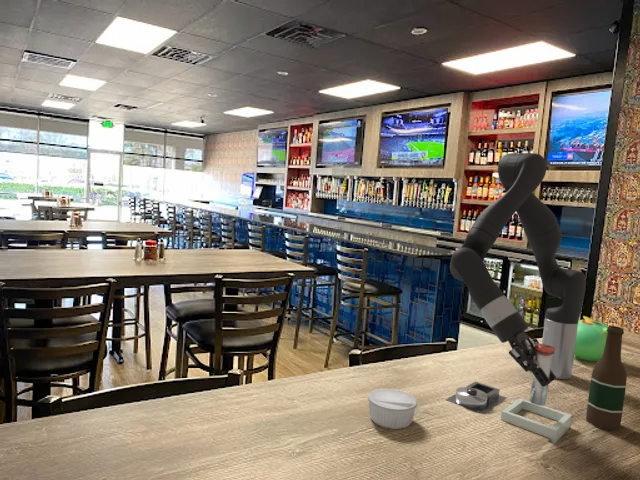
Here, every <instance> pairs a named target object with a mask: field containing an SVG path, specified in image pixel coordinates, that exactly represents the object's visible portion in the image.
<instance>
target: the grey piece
mask: <svg viewBox="0 0 640 480" xmlns="http://www.w3.org/2000/svg"><path fill="white" fill-rule="evenodd" d="M500 391H501V390H500V388H496V387H494V386H491V385H488V384H484V383H481V382H478V381H474V382H472V383H471V384H469V385H467V386H465V387H464V386H462V387H458V388H456V390H455V394H453V395H451V396H450V397H448V398H446V399H445V401H446V402H449V403H452V404H454V405H458V406H460V407H462V408H465V409H468V410H469V411H470V410H471V411H473V412H476V413H478V414H481V415H484V414H486V413H487V412H489V411H490V410H492V409H493V408H495V407H496V406H498V405H499V404H500V403H502V402H504V400H506V399H507V397H506V396H504V395H500Z"/></svg>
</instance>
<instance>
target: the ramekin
mask: <svg viewBox="0 0 640 480" xmlns="http://www.w3.org/2000/svg"><path fill="white" fill-rule="evenodd" d="M367 401H368V406H369V407H368V408H369V409H368V410H369V416H370V418H371V420H372V421H373V422H374V424H376V425H378V426H380V427H382V428H386V429H391V430H399V429H400V430H401V429H405V428H407V427H409V426H410V425H411V424H412V422H413V419H414V416H415V412H416V409H417V407H418V400H417V399H416V397H415V396H413V395H412V394H411V393H408V392H406V391H404V390H400V389H395V388H387V387H385V388H375V389H373V390H372V391H370V392H369V393H368V395H367Z"/></svg>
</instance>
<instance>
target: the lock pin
mask: <svg viewBox="0 0 640 480" xmlns="http://www.w3.org/2000/svg"><path fill="white" fill-rule="evenodd" d="M535 350H536V360H537V362H538V364H539V365H540V368H542V370H543V371H544V372H545V374H546V375H547V376H548V378H549V377H550V370H551V362H552V355H553V354H554V353H555V348H554V347H552V346H549V345H545V344H542V343H539V344H535ZM540 368H539V369H540ZM549 385H550V384H548V385H546V386H544V387H543V386H541V384H540V383H539V381H538V380H537V379H536V377H535V376H534V374H533V373H532V379H531V387H530V395H529V401H530V402H531V403H533V404H536V405H540V406H547V405H546V404H547V400H548V399H547V398H548V393H549V391H548V390H549Z"/></svg>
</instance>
